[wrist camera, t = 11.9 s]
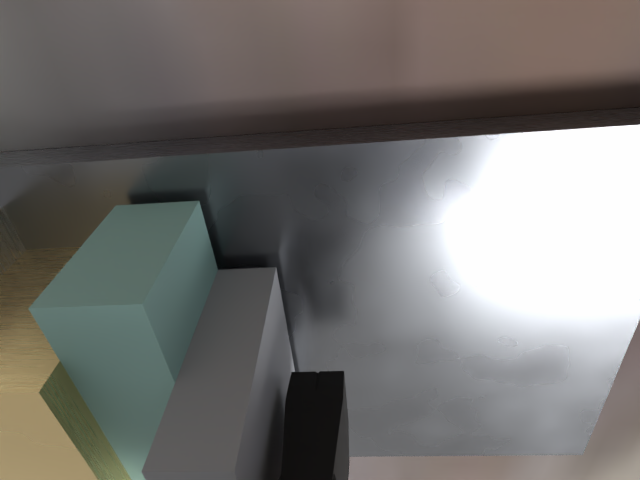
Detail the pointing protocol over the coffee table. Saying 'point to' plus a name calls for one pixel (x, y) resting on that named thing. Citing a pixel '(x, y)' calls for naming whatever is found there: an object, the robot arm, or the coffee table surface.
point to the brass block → (43, 389)
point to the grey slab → (403, 260)
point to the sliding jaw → (172, 347)
